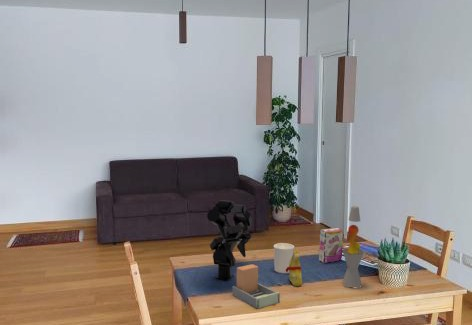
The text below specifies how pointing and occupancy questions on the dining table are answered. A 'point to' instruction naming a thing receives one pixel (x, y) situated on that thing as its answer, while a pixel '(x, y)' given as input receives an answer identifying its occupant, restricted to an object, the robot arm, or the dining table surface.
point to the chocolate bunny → (295, 269)
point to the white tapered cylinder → (282, 256)
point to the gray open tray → (258, 296)
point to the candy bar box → (330, 245)
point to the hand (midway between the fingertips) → (239, 258)
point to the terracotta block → (247, 278)
